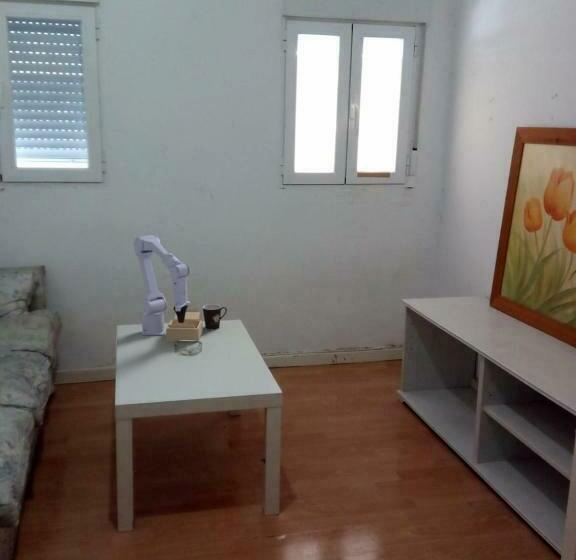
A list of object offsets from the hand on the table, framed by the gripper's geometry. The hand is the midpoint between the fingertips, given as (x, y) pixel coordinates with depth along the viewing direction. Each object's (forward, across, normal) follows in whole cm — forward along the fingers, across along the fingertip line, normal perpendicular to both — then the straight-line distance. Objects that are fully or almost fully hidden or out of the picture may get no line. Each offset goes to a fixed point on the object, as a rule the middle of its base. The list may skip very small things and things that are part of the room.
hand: (181, 322), depth 272 cm
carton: (+9, +7, 0) cm, 12 cm away
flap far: (+2, +15, 0) cm, 15 cm away
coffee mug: (+10, +21, -12) cm, 26 cm away
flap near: (+2, 0, 0) cm, 2 cm away
